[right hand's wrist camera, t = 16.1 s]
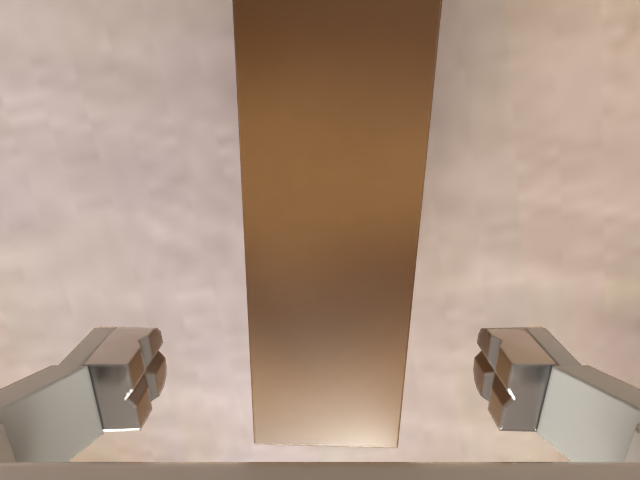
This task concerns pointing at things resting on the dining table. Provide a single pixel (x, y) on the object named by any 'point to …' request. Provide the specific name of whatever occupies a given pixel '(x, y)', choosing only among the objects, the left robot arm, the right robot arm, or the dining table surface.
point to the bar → (332, 209)
